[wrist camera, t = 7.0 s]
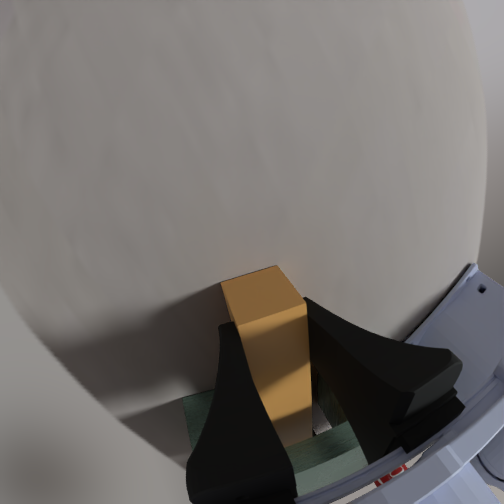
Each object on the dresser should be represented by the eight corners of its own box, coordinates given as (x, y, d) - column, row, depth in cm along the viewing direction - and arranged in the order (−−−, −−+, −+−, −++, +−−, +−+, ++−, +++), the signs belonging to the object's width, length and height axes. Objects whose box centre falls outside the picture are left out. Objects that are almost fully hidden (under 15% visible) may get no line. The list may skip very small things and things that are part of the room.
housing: (182, 397, 15) (204, 499, 9) (351, 339, 17) (412, 414, 11) (210, 439, 18) (233, 516, 12) (346, 390, 20) (389, 454, 14)
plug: (204, 287, 12) (221, 343, 9) (291, 260, 13) (331, 305, 10) (265, 454, 21) (278, 486, 18) (307, 439, 22) (322, 469, 19)
